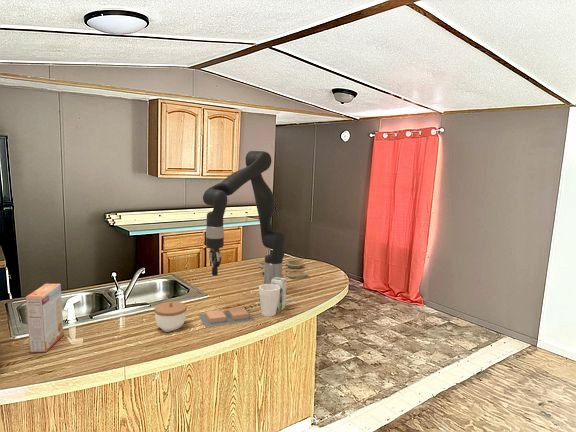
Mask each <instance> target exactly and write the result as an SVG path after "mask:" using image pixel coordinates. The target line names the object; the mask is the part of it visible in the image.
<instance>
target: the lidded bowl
mask: <svg viewBox="0 0 576 432" xmlns="http://www.w3.org/2000/svg"><path fill="white" fill-rule="evenodd" d="M187 308H188V306H187V304H186V303H184V302H181V301H165V302H161V303H158V304H156V306H155V307H154V308H153V309H154V317H155V318H154V319H155V322H156V325H157V327H158V328H160V329H161V331H162V332H165V333H170V332H171V331H177V330H178V329H180V328H182V326H183V325H184V323H185V321H186V317H187Z"/></svg>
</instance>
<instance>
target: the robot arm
mask: <svg viewBox="0 0 576 432" xmlns="http://www.w3.org/2000/svg"><path fill="white" fill-rule="evenodd" d="M272 161H273V160H272V156H271V155H270V153H269V152H268V151H263V150H251V151H248V152H247V153H246V155H245V167H244V168H243V167H242V169H239V170H236V171H235V172H232V173H231V174H229V175H228V176H227V177H226V178H224V179H223V180H222V181H220V182H218V183H216V184H214V185H212V186H210V187H208V188H207V189H206V190H205V192H204V193H203V196H202V201H203V203H204V204H205V205H207V206H211V207H213V208H212V211H208V212H207V214H206V228H205V247H206V248H208V249H210V250H209V251H208V257H209V265H210V266H211V275H212V276H213V277H216V276H218V271H219V269H218V268H219V267H220V266H221V261H222V257H221V251H220V249H222V248H224V246H225V245H224V244H225V230H224V216H225V213H226V208H227V204H228V197H229V196H231V195H233V194H234V193H235V192H237V191H238V190H239V189H240V188H241V187H243V186H244V185H245V184H246V183H247V182H249V181H250V183H251V186H252V190H253V196H254V201H255V206H256V210H257V214H258V220H259V227H260V236H261V237H260V238H261V242H262V245H263V246H264V248H268V249H271V250H272V252H271V254H267V255H265V257H264V262H265V268H264V273H263V284H271V280H272V279H273V278H275V277H278V278H284V276H283V260H284V257H285V249H286V248H285V247H286V236H285V234H284V232H281V231H277V230H273V227H272V218H273V215H274V213H275V210H276V203H275V202H276V201H275V196H274V193H273V191H272V189H271V188H270V186H269V185H268V183H266V181H265V179H264V177H263V173H264V172H266V171H267V170H269V168H270V167H271V166H272Z"/></svg>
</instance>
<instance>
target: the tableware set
mask: <svg viewBox="0 0 576 432" xmlns="http://www.w3.org/2000/svg"><path fill="white" fill-rule="evenodd" d="M303 261H304V259H285V260H284V262H285V264H286V265H287V266H288V267H289V269H285V276H286V277H288V278H293V279H303V278H306V277H309V274H308V273H307V272H306V270H305V269H304V270H303V269H301V266H304V264H305V263H304V262H303ZM257 265H258V267H259V268H261V273H262V274H264V268H265V261H258V264H257Z"/></svg>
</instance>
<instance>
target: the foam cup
mask: <svg viewBox="0 0 576 432" xmlns="http://www.w3.org/2000/svg"><path fill="white" fill-rule="evenodd" d="M279 293H280V287H279V286H278V285H274V284H264V283H263V284H261V285H259V287H258V294H259V302H260V313H261V316H263V317H273V316H276V315H277V304H278V298H279Z"/></svg>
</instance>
